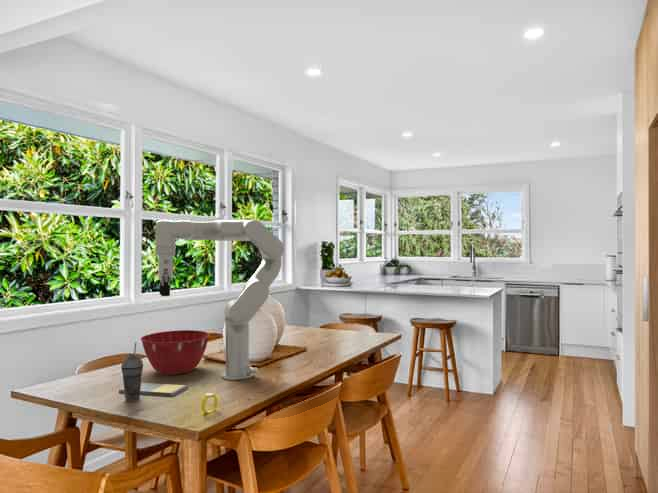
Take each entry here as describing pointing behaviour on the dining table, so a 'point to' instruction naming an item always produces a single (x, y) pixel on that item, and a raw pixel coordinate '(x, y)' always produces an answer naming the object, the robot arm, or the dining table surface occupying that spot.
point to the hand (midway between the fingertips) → (164, 295)
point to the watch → (205, 402)
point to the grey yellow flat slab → (159, 389)
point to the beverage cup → (132, 376)
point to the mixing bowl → (175, 350)
